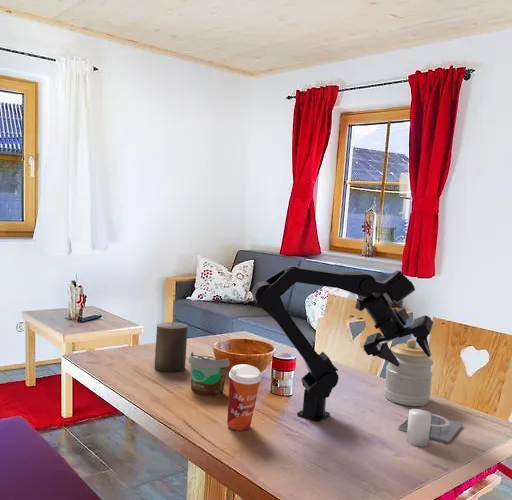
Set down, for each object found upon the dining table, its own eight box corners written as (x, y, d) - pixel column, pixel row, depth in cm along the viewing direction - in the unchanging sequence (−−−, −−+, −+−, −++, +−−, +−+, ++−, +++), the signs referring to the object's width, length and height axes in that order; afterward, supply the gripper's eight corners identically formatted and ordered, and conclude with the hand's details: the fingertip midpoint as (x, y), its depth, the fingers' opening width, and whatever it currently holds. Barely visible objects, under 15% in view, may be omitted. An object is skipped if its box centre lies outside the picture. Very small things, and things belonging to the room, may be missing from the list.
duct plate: (448, 443, 126) (448, 435, 126) (398, 429, 133) (399, 421, 133) (462, 426, 138) (463, 418, 138) (416, 413, 145) (416, 406, 144)
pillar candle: (182, 373, 165) (185, 325, 164) (151, 370, 165) (154, 322, 164) (187, 364, 175) (190, 319, 174) (157, 362, 175) (160, 316, 174)
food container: (178, 391, 149) (180, 356, 148) (189, 385, 155) (191, 351, 154) (218, 400, 145) (220, 363, 144) (227, 393, 150) (230, 358, 150)
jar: (437, 400, 157) (443, 341, 155) (416, 410, 147) (422, 347, 146) (396, 388, 165) (402, 331, 164) (375, 397, 156) (380, 337, 155)
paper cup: (230, 435, 123) (237, 380, 120) (217, 417, 129) (224, 364, 126) (260, 430, 127) (268, 376, 123) (246, 413, 133) (253, 361, 130)
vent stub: (424, 448, 123) (427, 418, 122) (403, 442, 126) (406, 412, 125) (432, 440, 128) (434, 411, 127) (411, 434, 131) (414, 406, 130)
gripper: (419, 285, 140) (450, 332, 142) (360, 309, 151) (390, 352, 153) (412, 308, 131) (445, 357, 133) (349, 331, 142) (381, 377, 144)
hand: (414, 360), depth 141 cm, fingers open, 9 cm apart
